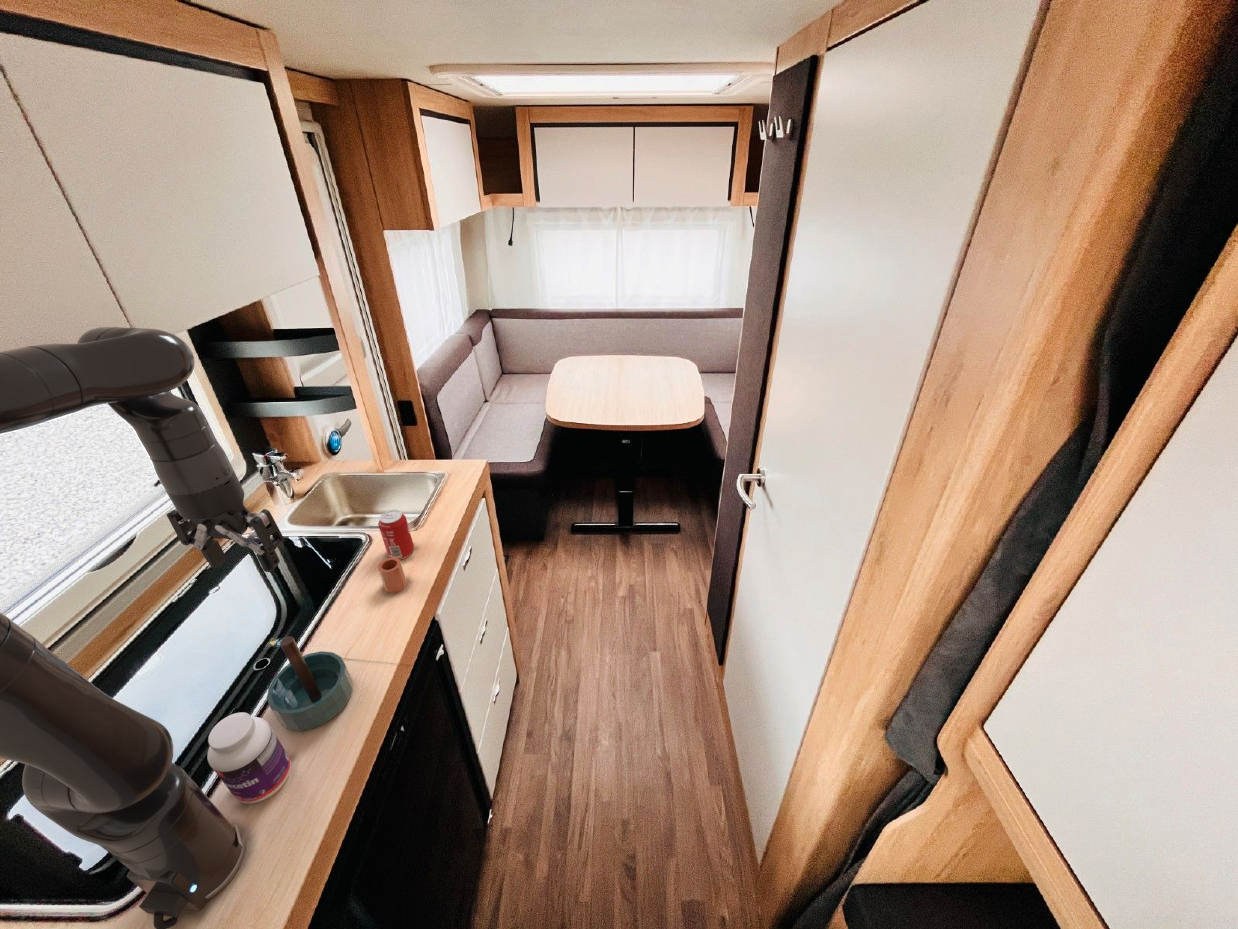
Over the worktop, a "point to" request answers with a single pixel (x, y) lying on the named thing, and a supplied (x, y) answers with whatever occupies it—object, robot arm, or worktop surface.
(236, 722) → the pill bottle
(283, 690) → the bowl
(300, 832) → the worktop surface
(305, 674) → the cooking stick
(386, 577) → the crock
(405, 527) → the beverage can
